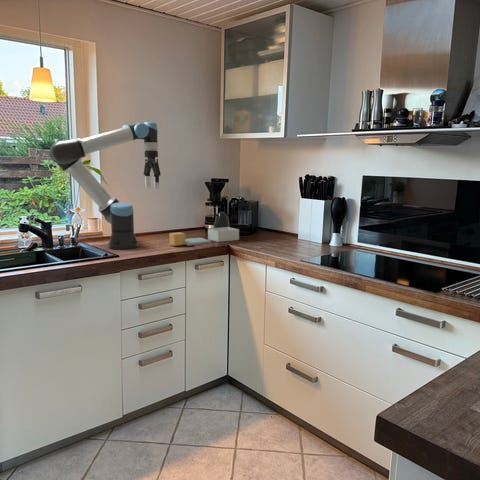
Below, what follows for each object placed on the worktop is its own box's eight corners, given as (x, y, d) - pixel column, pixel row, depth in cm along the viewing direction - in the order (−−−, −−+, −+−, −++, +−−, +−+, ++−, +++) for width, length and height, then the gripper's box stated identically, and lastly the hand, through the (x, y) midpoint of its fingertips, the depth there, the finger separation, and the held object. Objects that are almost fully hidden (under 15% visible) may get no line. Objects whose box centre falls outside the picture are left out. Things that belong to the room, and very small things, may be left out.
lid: (177, 248, 234) (176, 235, 233) (167, 244, 244) (166, 232, 243) (211, 244, 246) (211, 232, 245) (200, 241, 256) (200, 229, 255)
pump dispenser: (210, 236, 275) (209, 211, 272) (222, 234, 282) (222, 210, 279) (220, 238, 267) (220, 213, 265) (233, 236, 274) (233, 212, 272)
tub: (218, 243, 248) (218, 231, 247) (208, 240, 258) (207, 228, 257) (238, 241, 256) (239, 229, 254) (228, 238, 266) (228, 227, 264)
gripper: (165, 149, 241) (166, 188, 245) (149, 151, 262) (150, 186, 265) (153, 149, 237) (154, 189, 241) (137, 150, 258) (138, 187, 261)
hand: (152, 187), depth 253 cm, fingers open, 13 cm apart
